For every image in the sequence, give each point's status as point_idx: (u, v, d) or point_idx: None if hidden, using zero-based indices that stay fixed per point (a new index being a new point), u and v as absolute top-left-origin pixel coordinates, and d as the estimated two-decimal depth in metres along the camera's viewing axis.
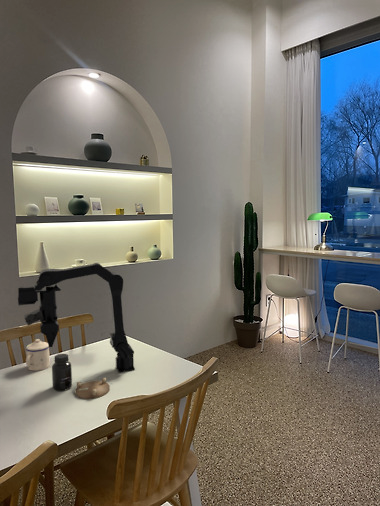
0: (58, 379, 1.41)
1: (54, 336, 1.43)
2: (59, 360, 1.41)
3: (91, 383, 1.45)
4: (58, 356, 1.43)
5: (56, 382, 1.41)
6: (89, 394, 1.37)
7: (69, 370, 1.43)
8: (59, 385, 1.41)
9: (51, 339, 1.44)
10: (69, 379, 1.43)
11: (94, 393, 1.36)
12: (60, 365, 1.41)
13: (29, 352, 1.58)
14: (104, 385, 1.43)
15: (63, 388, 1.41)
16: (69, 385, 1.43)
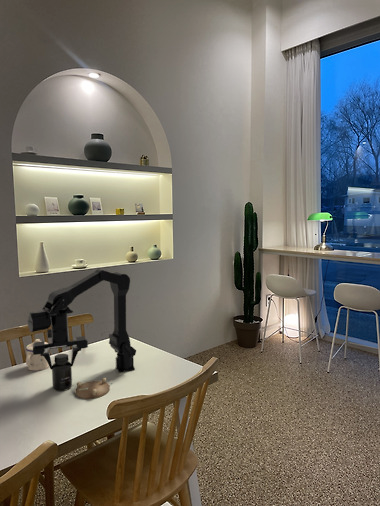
0: (58, 379, 1.41)
1: None
2: (59, 360, 1.41)
3: (91, 383, 1.45)
4: (58, 356, 1.43)
5: (56, 382, 1.41)
6: (89, 394, 1.37)
7: (69, 370, 1.43)
8: (59, 385, 1.41)
9: (48, 361, 1.41)
10: (69, 379, 1.43)
11: (94, 393, 1.36)
12: (60, 365, 1.41)
13: (29, 352, 1.58)
14: (104, 385, 1.43)
15: (63, 388, 1.41)
16: (69, 385, 1.43)
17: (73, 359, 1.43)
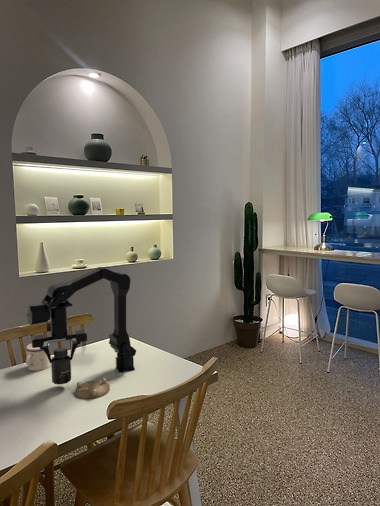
0: (57, 372, 1.40)
1: None
2: (58, 353, 1.41)
3: (91, 383, 1.45)
4: (57, 350, 1.42)
5: (55, 375, 1.41)
6: (89, 394, 1.37)
7: (68, 364, 1.42)
8: (58, 378, 1.40)
9: None
10: (69, 373, 1.43)
11: (94, 393, 1.36)
12: (60, 358, 1.41)
13: (29, 352, 1.58)
14: (104, 385, 1.43)
15: (62, 382, 1.41)
16: (68, 379, 1.43)
17: (72, 352, 1.43)
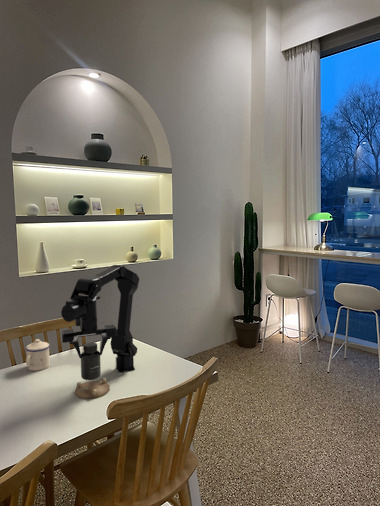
0: (87, 368, 1.37)
1: None
2: (88, 349, 1.37)
3: (91, 383, 1.45)
4: (87, 345, 1.39)
5: (85, 371, 1.37)
6: (89, 394, 1.37)
7: (98, 359, 1.39)
8: (88, 374, 1.37)
9: (77, 350, 1.38)
10: (98, 368, 1.39)
11: (94, 393, 1.36)
12: (90, 353, 1.38)
13: (29, 352, 1.58)
14: (104, 385, 1.43)
15: (92, 377, 1.38)
16: (98, 374, 1.39)
17: (102, 348, 1.40)
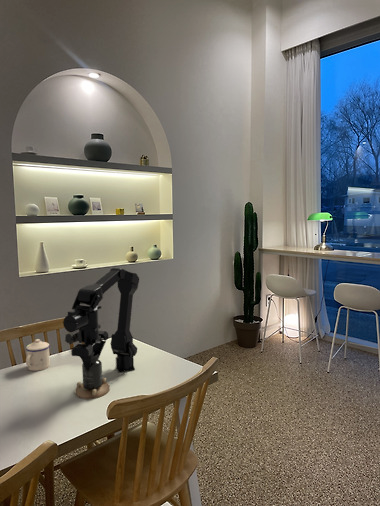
0: (99, 376, 1.39)
1: (89, 360, 1.35)
2: (96, 357, 1.39)
3: None
4: None
5: (96, 379, 1.38)
6: (89, 394, 1.37)
7: None
8: (99, 381, 1.39)
9: (87, 362, 1.36)
10: None
11: (94, 393, 1.36)
12: (97, 361, 1.40)
13: (29, 352, 1.58)
14: (104, 385, 1.43)
15: (101, 383, 1.41)
16: None
17: (100, 353, 1.44)
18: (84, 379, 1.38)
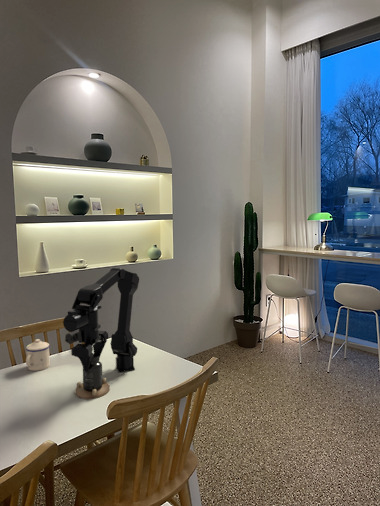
0: (99, 377, 1.39)
1: (88, 361, 1.34)
2: (97, 359, 1.39)
3: None
4: None
5: (97, 381, 1.38)
6: (89, 394, 1.37)
7: None
8: (100, 383, 1.40)
9: (86, 363, 1.35)
10: None
11: (94, 393, 1.36)
12: (98, 363, 1.40)
13: (29, 352, 1.58)
14: (104, 385, 1.43)
15: (101, 385, 1.41)
16: None
17: (101, 352, 1.45)
18: (84, 381, 1.38)
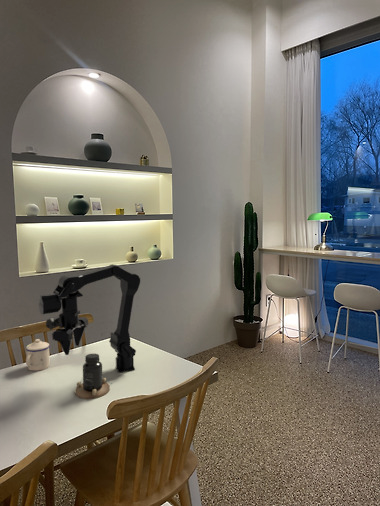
0: (99, 377, 1.39)
1: (68, 344, 1.40)
2: (97, 359, 1.39)
3: None
4: (91, 356, 1.39)
5: (97, 381, 1.38)
6: (89, 394, 1.37)
7: None
8: (100, 383, 1.40)
9: (66, 347, 1.41)
10: None
11: (94, 393, 1.36)
12: (98, 363, 1.40)
13: (29, 352, 1.58)
14: (104, 385, 1.43)
15: (101, 385, 1.41)
16: None
17: (81, 337, 1.51)
18: (84, 381, 1.38)
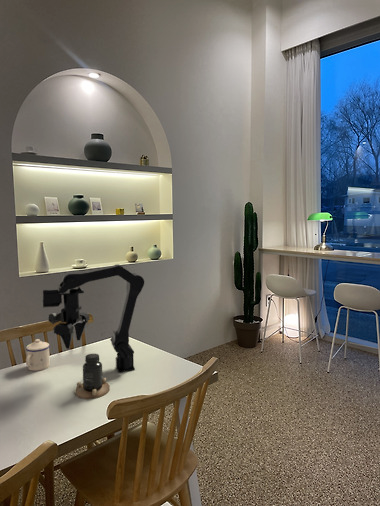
0: (99, 377, 1.39)
1: (69, 338, 1.45)
2: (97, 359, 1.39)
3: None
4: (91, 356, 1.39)
5: (97, 381, 1.38)
6: (89, 394, 1.37)
7: None
8: (100, 383, 1.40)
9: (67, 341, 1.46)
10: None
11: (94, 393, 1.36)
12: (98, 363, 1.40)
13: (29, 352, 1.58)
14: (104, 385, 1.43)
15: (101, 385, 1.41)
16: None
17: (82, 332, 1.57)
18: (84, 381, 1.38)
